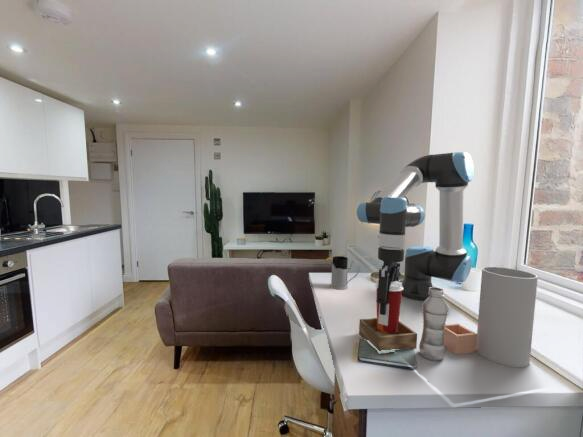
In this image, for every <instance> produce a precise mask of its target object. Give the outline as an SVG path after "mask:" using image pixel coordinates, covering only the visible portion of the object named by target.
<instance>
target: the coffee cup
mask: <svg viewBox="0 0 583 437" xmlns="http://www.w3.org/2000/svg"><path fill="white" fill-rule="evenodd" d="M378 283H379V279H378V280H377V281H376V283H375V287H376V295H377V294H378ZM403 289H404V288H403V287H402V282H400V281H399V282H398V281H396V282H395V281H393V282H391V285H390V289H389V300H388V304H389V316H388V326H386V325H382V324H379V323H378V319H379V303H377V302H376V318H377V329H378V330H379V331H381V332H383V333H387V334H394V333H396V332H397V328H398V321H400V320H399V319H400V312H401V305H402V297H403V296H402V290H403Z"/></svg>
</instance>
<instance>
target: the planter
mask: <svg viewBox="0 0 583 437" xmlns="http://www.w3.org/2000/svg"><path fill="white" fill-rule="evenodd" d="M444 329H445V330H444V345H445V349H448V350H449V351H451V352H452V353H454V354H455V355H462V354H470V353H476V352H477V349H476V346H477V332H475V331H473V330H471V329H469V328H467V327H466V326H463V325H461V324H460V323H451V324H445V328H444Z"/></svg>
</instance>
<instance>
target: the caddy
mask: <svg viewBox="0 0 583 437" xmlns="http://www.w3.org/2000/svg"><path fill="white" fill-rule="evenodd" d="M358 326H359V327H358V334H359V336H360V337H361V338H362V339H363V340H364V339H366V340H369V341H370V342H371V343H372V344H373V345H374V346H375V347H376V348H377V349H378V350H379V351H381V350H391V349H405V348H413V349H417V345H418V344H417V341H418V333H417V332H416V331H414V330H412V329H411V328H410V327H408V326H407V325H406V324H404V323H403V322H401V321H400V320H399V321H398V328H397V332H396V333H394V334H387V333H383V332H381V331H379V330H378V329H377V317H375V318H374V317H372V318H360V319H359V323H358ZM405 350H406V349H405Z"/></svg>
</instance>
